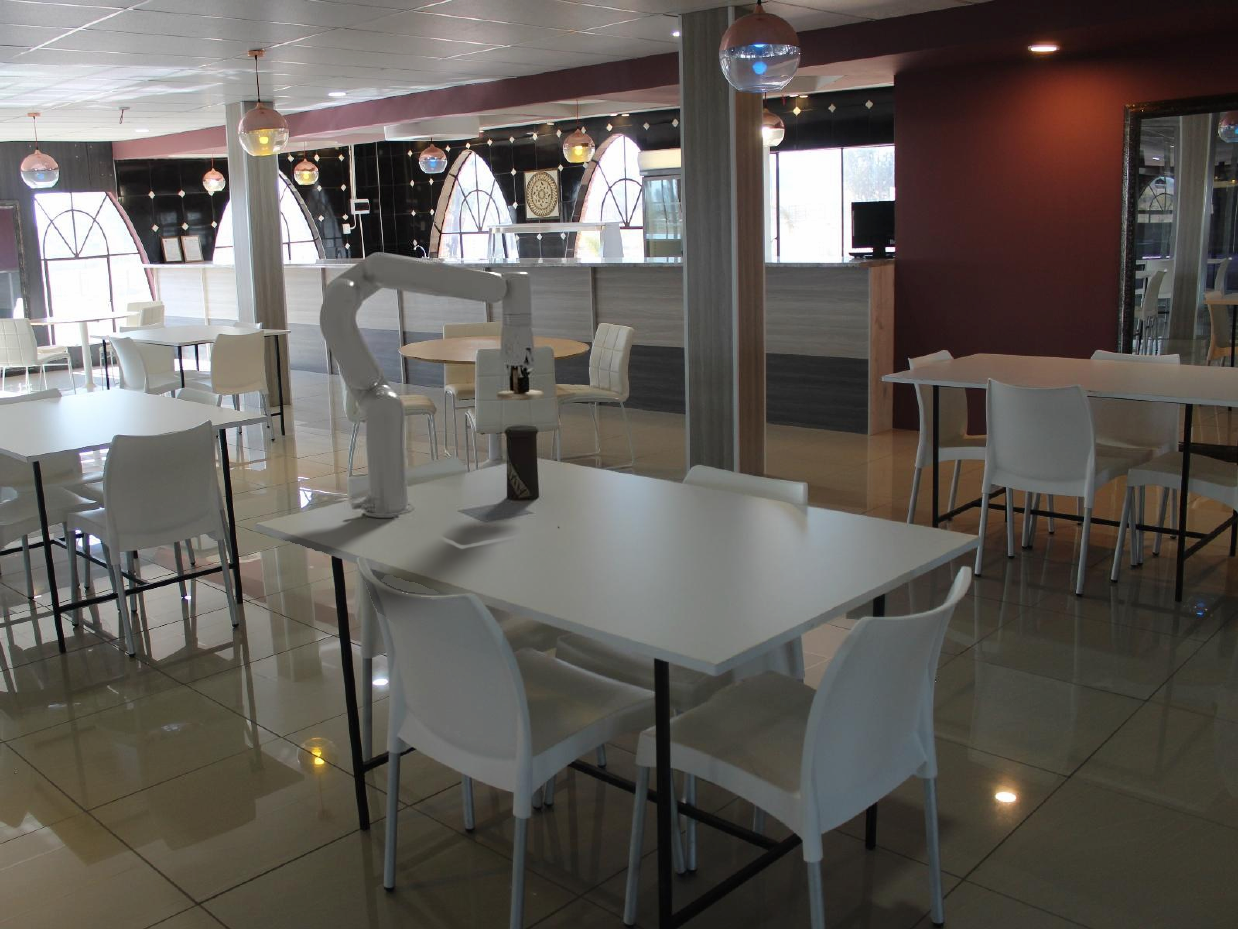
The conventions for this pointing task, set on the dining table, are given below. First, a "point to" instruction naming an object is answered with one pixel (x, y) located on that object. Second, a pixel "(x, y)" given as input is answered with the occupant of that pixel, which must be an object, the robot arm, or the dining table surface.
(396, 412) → the robot arm
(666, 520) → the dining table surface
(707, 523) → the dining table surface
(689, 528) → the dining table surface
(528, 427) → the container
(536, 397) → the lid
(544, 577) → the dining table surface
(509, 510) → the mat
